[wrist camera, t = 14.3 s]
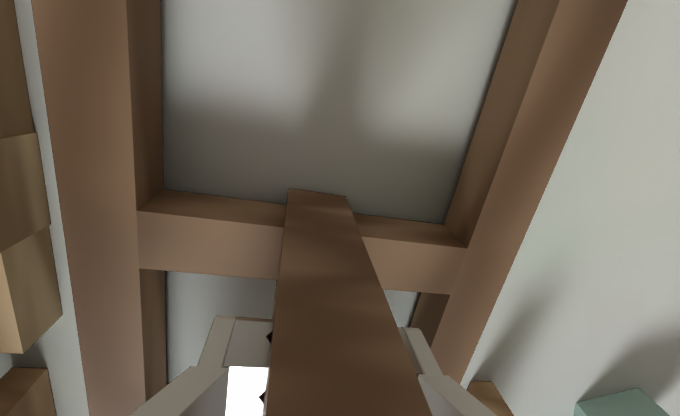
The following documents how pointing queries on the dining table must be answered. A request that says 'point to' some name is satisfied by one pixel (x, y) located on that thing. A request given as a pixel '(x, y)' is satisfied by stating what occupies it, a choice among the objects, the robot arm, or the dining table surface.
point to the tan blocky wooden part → (22, 207)
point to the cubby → (39, 412)
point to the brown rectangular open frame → (294, 218)
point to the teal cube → (620, 405)
